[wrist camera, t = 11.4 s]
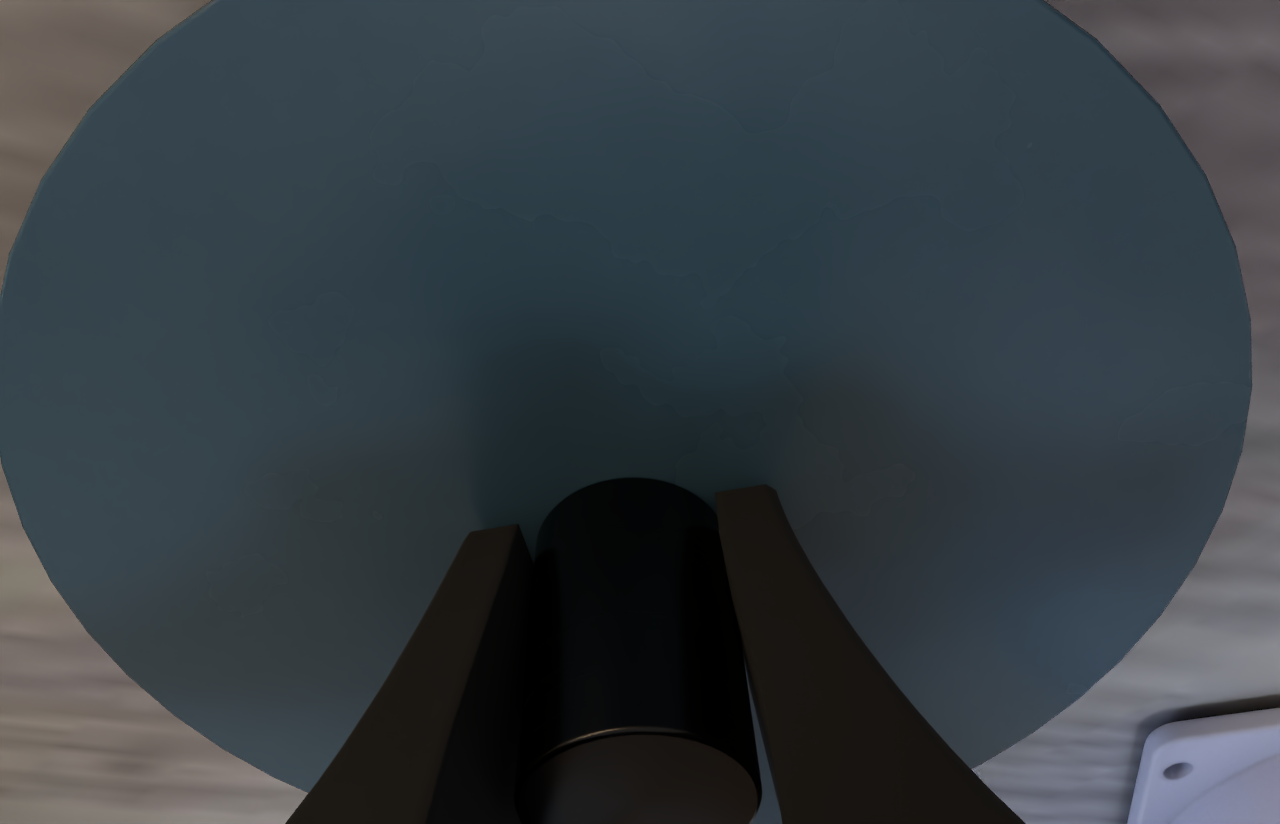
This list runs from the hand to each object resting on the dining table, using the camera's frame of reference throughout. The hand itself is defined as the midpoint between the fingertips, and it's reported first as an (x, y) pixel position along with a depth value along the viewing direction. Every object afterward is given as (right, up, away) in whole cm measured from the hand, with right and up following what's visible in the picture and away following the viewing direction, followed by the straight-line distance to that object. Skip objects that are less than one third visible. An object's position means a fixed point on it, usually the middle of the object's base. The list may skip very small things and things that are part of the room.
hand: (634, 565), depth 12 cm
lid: (0, 0, +1) cm, 1 cm away
